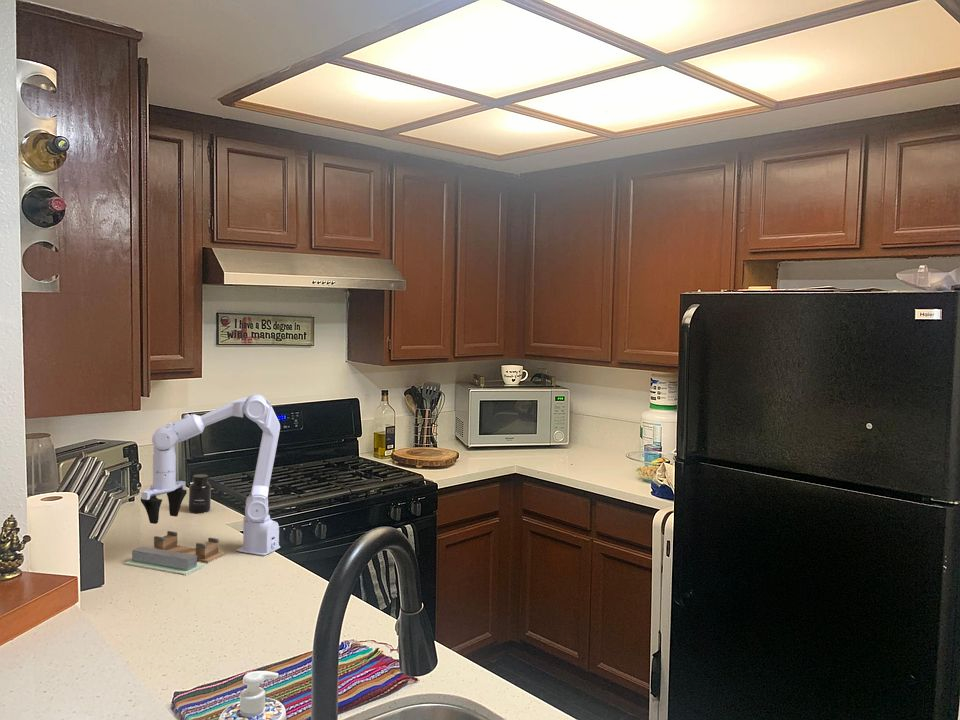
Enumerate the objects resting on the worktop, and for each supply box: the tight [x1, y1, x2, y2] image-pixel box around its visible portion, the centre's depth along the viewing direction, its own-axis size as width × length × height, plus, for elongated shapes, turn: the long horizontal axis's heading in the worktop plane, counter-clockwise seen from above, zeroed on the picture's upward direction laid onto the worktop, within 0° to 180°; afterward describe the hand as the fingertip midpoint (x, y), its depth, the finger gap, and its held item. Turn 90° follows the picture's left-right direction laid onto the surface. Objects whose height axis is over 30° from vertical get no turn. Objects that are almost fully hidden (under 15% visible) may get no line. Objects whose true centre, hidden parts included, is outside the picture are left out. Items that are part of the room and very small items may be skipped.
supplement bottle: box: [188, 473, 212, 514], centre depth 244 cm, size 7×7×12 cm
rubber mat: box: [123, 559, 205, 576], centre depth 193 cm, size 20×7×1 cm, turn 72°
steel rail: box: [131, 545, 198, 571], centre depth 193 cm, size 18×4×3 cm, turn 72°
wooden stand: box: [153, 530, 226, 564], centre depth 202 cm, size 20×7×5 cm, turn 72°
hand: (164, 519), depth 200 cm, fingers open, 7 cm apart
